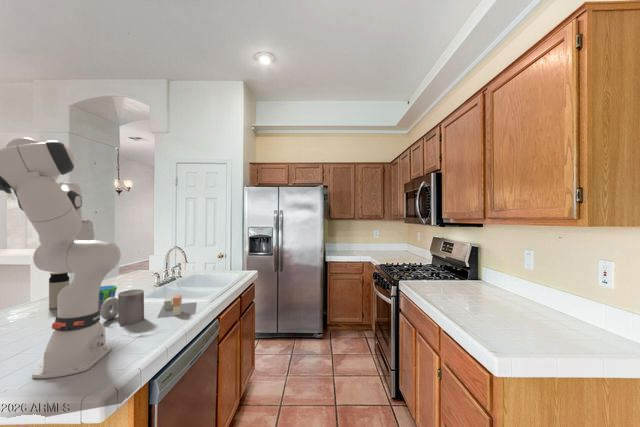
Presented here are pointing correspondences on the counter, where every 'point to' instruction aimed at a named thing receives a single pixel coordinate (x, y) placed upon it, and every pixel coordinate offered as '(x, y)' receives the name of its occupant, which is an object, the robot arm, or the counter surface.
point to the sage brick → (168, 303)
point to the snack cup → (106, 294)
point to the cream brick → (176, 310)
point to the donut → (106, 306)
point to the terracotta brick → (177, 300)
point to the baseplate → (185, 310)
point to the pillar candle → (130, 307)
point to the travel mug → (56, 287)
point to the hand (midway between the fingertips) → (68, 252)
